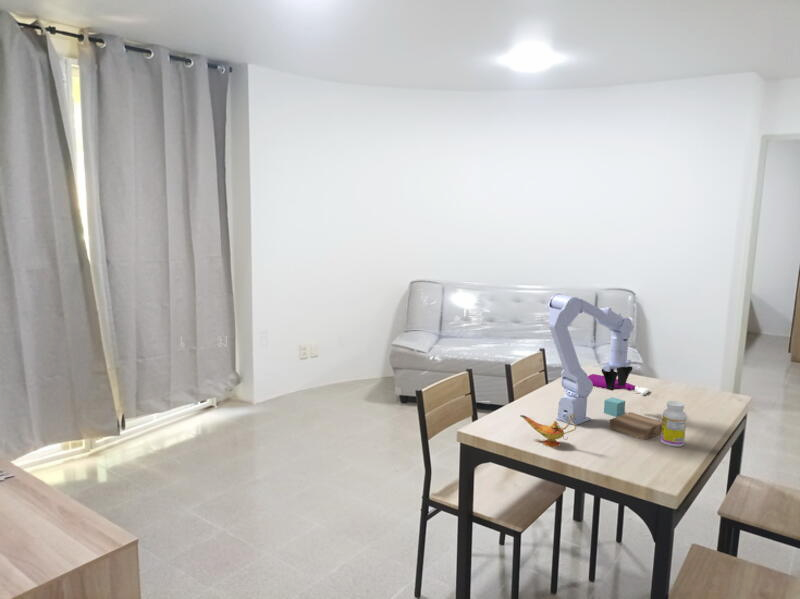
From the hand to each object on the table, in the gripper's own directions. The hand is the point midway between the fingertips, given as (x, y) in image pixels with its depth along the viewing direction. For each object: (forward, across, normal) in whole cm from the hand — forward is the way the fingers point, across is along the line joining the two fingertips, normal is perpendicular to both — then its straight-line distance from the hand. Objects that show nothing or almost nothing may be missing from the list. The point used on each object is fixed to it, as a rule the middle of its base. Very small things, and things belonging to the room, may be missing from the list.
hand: (615, 387), depth 200 cm
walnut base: (+9, -9, -13) cm, 18 cm away
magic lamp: (+10, -41, 0) cm, 42 cm away
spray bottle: (+10, +29, +16) cm, 35 cm away
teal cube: (+10, 0, 0) cm, 10 cm away
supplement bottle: (+10, -10, -26) cm, 29 cm away
